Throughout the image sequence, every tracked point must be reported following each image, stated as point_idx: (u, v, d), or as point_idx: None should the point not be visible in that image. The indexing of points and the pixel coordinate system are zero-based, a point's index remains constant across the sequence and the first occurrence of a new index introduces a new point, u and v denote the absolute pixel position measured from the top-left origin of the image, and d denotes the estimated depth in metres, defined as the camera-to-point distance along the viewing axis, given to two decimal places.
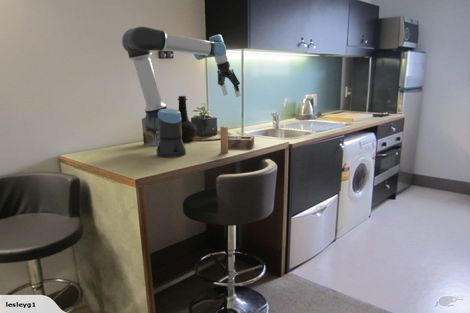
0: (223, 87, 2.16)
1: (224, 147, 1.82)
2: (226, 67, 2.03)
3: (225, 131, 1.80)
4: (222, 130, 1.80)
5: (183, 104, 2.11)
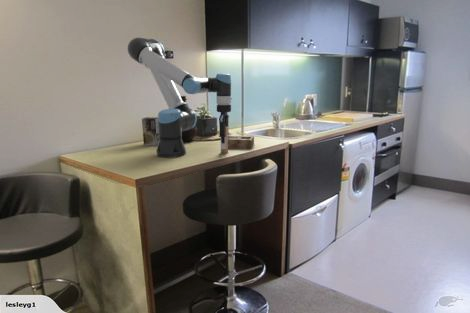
0: None
1: None
2: (221, 111, 1.76)
3: None
4: None
5: None
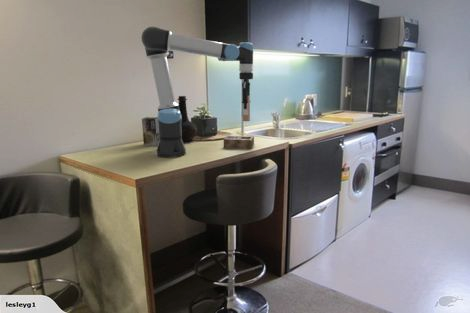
0: None
1: (246, 115, 1.94)
2: (244, 78, 1.88)
3: None
4: None
5: (183, 104, 2.11)
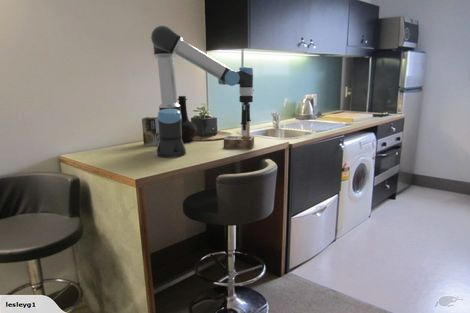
0: None
1: None
2: (243, 101, 1.91)
3: (247, 126, 1.96)
4: None
5: (183, 104, 2.11)
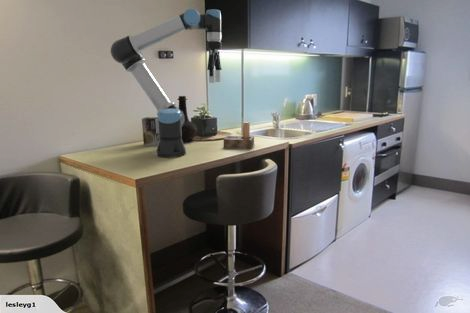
0: (216, 72, 1.92)
1: None
2: (211, 47, 1.79)
3: (247, 126, 1.96)
4: (244, 125, 1.96)
5: (183, 104, 2.11)
